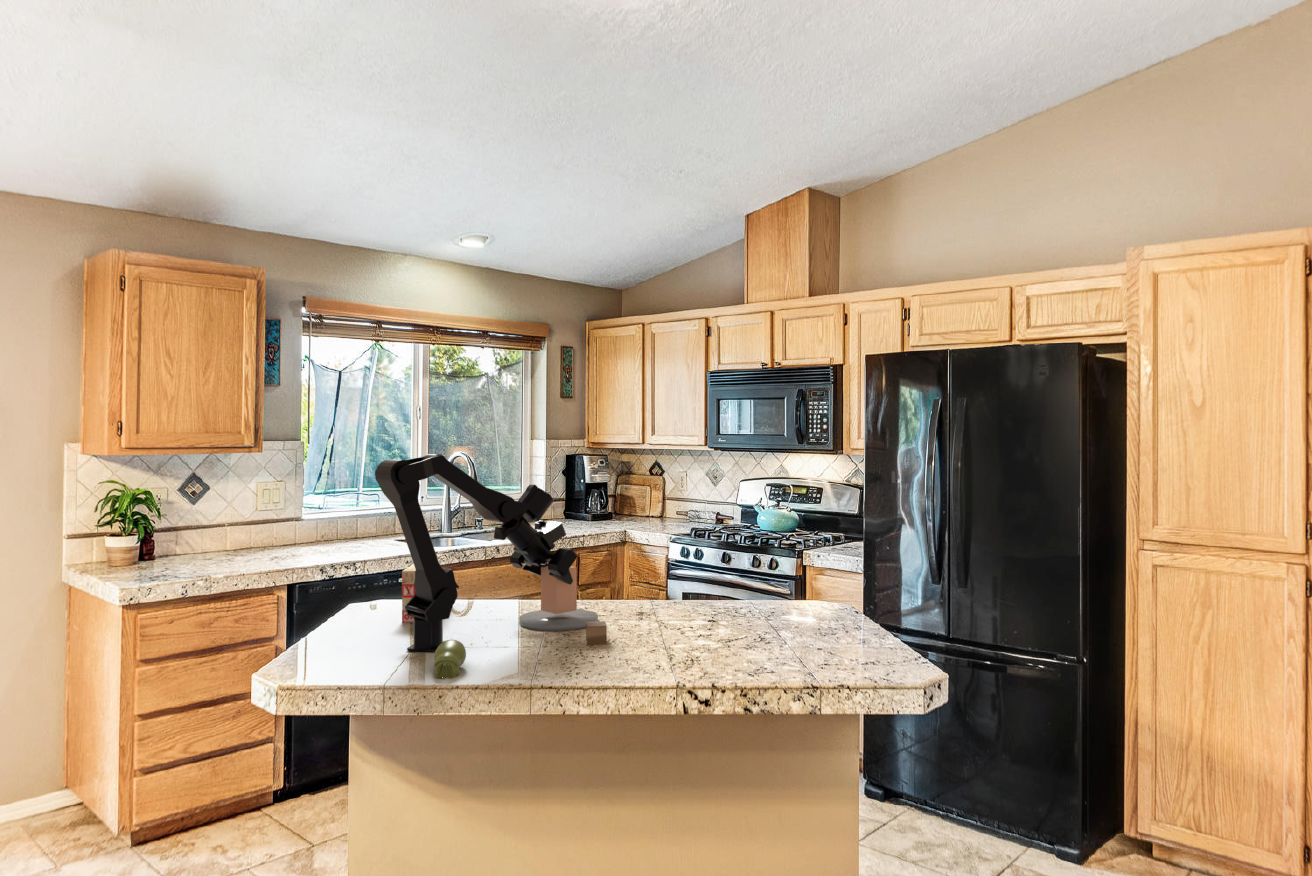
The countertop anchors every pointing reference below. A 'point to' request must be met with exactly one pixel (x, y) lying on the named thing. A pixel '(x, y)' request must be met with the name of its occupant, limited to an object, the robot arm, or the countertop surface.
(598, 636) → the walnut block
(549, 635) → the countertop surface
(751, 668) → the countertop surface
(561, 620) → the slate plate
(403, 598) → the stack of blocks
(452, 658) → the green rounded piece
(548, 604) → the tall clay pillar
